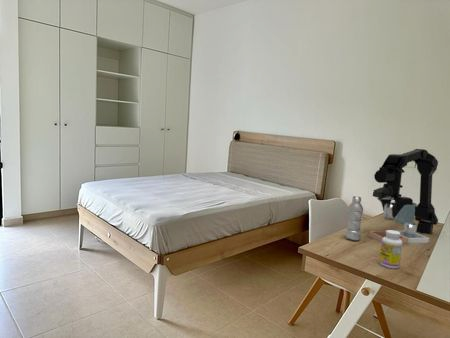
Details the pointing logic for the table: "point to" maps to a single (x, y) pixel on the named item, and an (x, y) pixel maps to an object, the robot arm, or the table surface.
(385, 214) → the steel billet
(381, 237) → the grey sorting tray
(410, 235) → the billet
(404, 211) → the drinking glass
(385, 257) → the supplement bottle
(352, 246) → the table surface
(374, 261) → the table surface
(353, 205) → the plastic bottle
